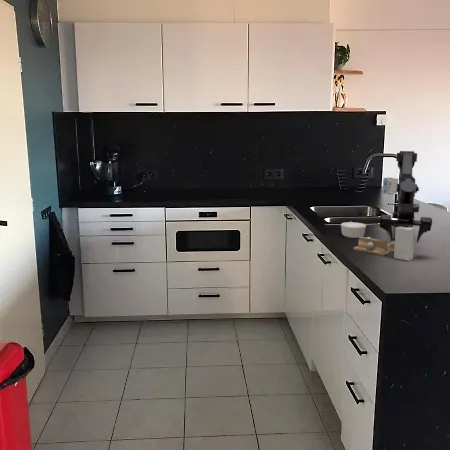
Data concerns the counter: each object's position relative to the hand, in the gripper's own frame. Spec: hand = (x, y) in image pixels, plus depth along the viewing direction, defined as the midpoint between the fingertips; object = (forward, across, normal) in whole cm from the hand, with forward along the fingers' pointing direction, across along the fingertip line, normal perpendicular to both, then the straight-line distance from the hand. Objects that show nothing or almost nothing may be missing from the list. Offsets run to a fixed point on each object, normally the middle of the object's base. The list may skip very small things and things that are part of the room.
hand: (404, 241), depth 190 cm
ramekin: (-20, -21, +30) cm, 41 cm away
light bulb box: (-126, -3, +135) cm, 185 cm away
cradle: (-4, -10, +14) cm, 18 cm away
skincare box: (+4, 0, +6) cm, 7 cm away
